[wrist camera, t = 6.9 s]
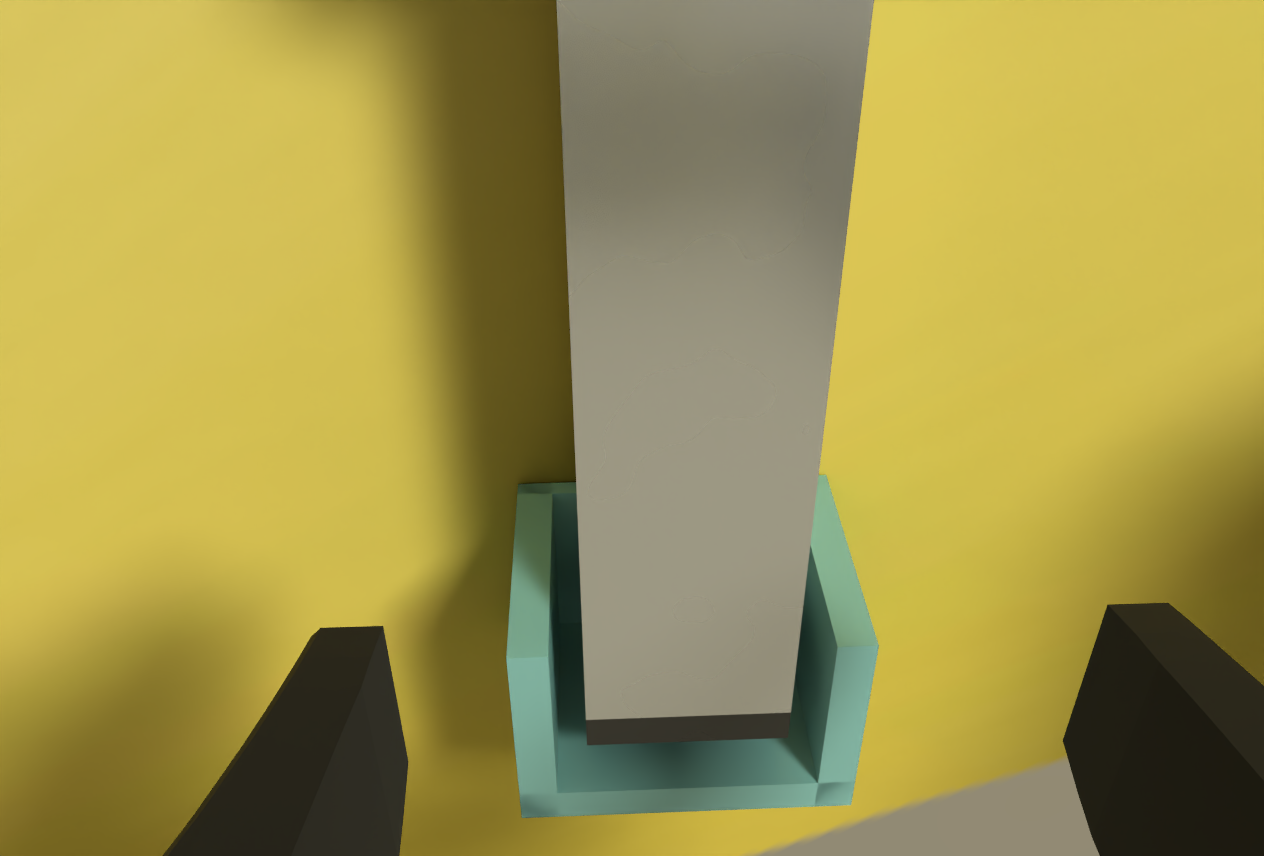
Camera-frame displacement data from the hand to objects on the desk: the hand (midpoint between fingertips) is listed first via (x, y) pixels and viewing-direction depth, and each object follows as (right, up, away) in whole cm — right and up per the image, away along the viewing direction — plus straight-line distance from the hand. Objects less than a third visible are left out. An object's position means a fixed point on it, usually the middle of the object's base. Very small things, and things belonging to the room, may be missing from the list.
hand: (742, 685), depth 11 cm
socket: (0, 0, +9) cm, 9 cm away
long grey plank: (0, +6, +5) cm, 8 cm away
